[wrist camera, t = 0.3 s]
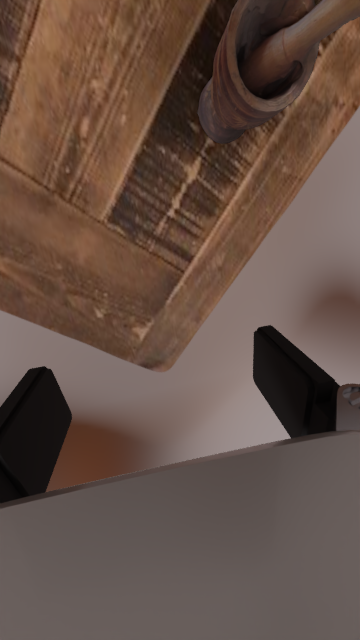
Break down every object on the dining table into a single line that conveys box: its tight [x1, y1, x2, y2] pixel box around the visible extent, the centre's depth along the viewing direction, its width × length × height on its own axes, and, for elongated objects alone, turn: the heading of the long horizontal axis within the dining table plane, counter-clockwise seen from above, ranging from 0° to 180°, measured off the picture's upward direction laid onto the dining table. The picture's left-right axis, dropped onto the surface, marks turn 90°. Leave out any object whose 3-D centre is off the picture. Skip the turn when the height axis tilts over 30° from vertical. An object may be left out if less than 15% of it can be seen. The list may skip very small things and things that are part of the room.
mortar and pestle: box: [198, 0, 360, 144], centre depth 22 cm, size 12×9×20 cm
